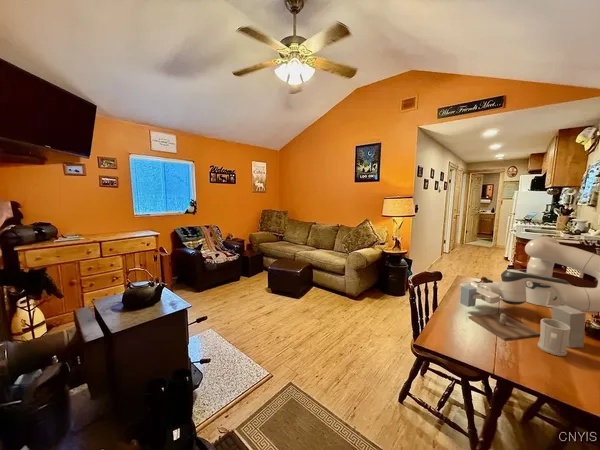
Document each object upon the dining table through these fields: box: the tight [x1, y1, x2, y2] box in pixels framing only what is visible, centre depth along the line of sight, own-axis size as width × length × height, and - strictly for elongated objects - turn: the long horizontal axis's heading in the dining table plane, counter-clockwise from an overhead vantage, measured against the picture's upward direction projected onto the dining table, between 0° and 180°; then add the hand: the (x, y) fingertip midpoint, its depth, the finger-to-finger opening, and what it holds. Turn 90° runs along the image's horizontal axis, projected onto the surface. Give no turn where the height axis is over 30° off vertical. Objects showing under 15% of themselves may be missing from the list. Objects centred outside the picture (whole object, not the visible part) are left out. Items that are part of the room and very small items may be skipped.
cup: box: [537, 318, 571, 357], centre depth 105 cm, size 10×9×12 cm
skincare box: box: [551, 305, 586, 349], centre depth 110 cm, size 8×7×16 cm
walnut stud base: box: [467, 312, 540, 341], centre depth 124 cm, size 20×20×7 cm
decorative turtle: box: [479, 276, 494, 283], centre depth 166 cm, size 10×15×8 cm, turn 174°
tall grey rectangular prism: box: [459, 285, 477, 308], centre depth 138 cm, size 5×5×10 cm
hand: (467, 294), depth 138 cm, fingers closed on tall grey rectangular prism, 5 cm apart
